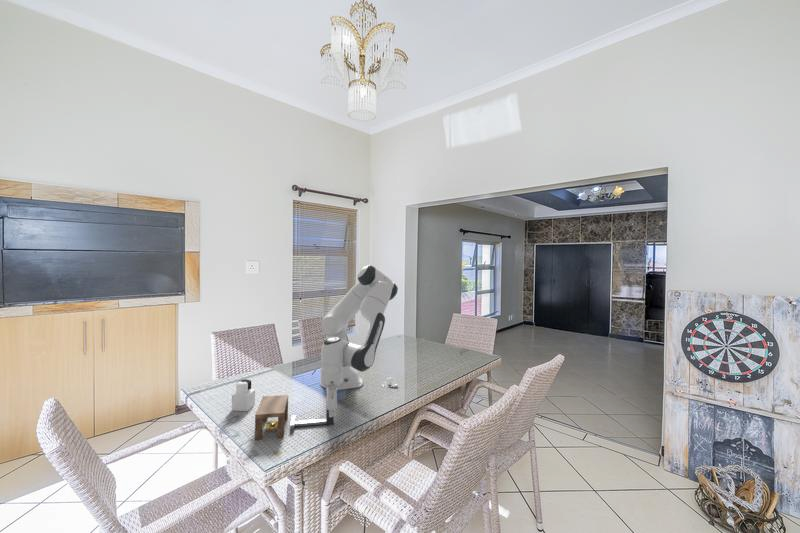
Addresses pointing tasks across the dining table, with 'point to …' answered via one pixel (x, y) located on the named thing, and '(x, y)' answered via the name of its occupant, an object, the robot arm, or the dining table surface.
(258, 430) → the wooden arch block
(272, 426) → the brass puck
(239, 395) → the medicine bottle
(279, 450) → the dining table surface
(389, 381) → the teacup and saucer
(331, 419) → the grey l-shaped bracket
